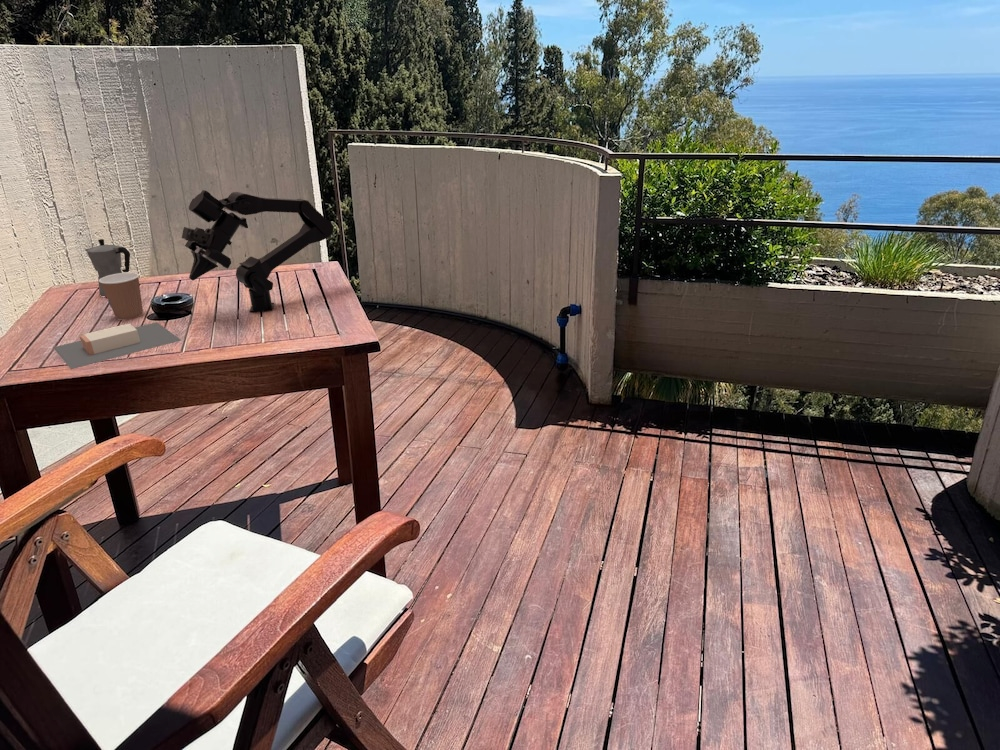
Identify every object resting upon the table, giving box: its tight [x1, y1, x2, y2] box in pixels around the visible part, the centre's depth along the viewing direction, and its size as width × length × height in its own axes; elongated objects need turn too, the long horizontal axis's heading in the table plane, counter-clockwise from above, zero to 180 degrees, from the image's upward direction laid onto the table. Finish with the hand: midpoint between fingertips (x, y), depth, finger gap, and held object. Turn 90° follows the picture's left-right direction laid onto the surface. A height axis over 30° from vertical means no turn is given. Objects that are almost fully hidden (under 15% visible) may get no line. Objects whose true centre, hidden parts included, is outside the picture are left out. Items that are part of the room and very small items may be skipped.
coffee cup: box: [98, 272, 144, 321], centre depth 194 cm, size 10×10×12 cm
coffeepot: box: [84, 238, 131, 297], centre depth 214 cm, size 15×9×18 cm, turn 80°
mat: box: [52, 321, 182, 370], centre depth 176 cm, size 26×20×1 cm
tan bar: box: [78, 323, 140, 355], centre depth 174 cm, size 4×7×12 cm
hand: (191, 279), depth 184 cm, fingers closed
